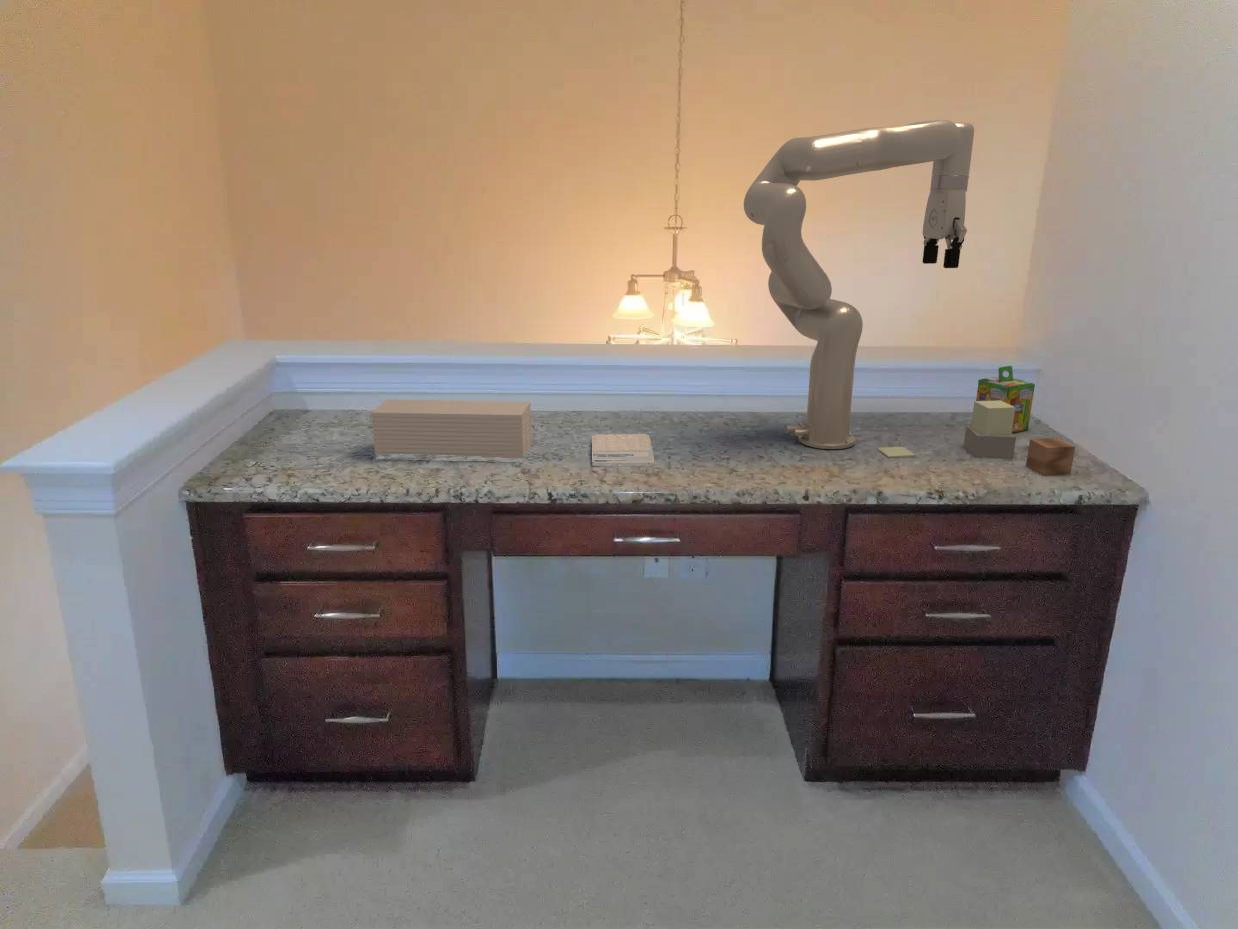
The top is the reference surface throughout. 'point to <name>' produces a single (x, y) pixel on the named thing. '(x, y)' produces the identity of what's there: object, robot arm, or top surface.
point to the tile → (895, 452)
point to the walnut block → (1050, 456)
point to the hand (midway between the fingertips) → (939, 265)
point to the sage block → (993, 417)
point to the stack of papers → (452, 428)
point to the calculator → (623, 448)
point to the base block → (989, 444)
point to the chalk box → (1009, 395)
